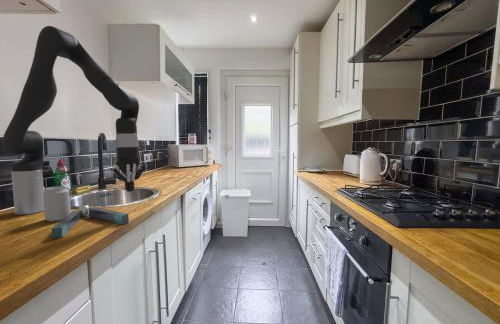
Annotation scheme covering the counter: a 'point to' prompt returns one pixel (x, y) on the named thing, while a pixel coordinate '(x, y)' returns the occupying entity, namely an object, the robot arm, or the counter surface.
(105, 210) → the tong arm
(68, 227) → the tong base
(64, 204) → the can
